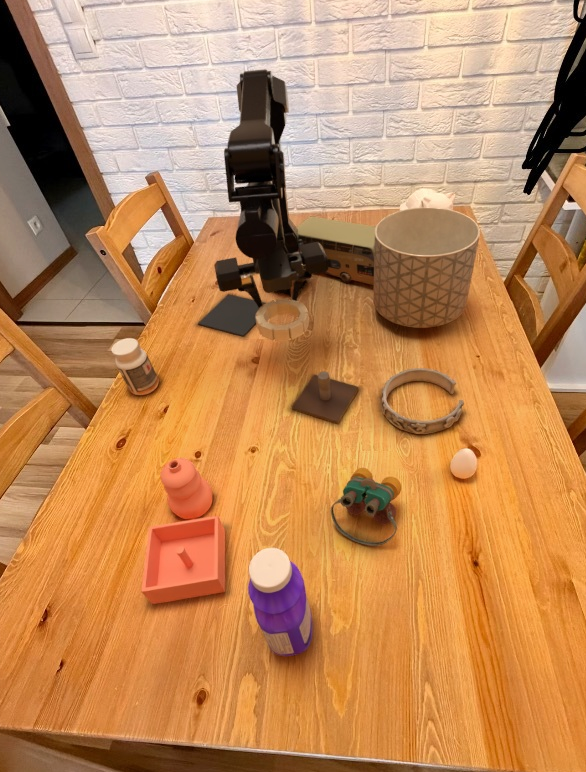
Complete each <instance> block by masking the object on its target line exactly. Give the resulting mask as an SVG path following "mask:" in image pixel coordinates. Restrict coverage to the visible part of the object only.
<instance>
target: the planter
mask: <svg viewBox="0 0 586 772" xmlns="http://www.w3.org/2000/svg"><path fill="white" fill-rule="evenodd" d="M375 227H376V228H375V239H374V285H373V305H374V308H375V309H376V311H377V313H378V314H379V315H381V316H382V318H384V319H386V320H387V321H389V322H391V323H393V324H396V325H399V326H402V327H403V326H404V327H409V328H417V329H418V328H419V329H426V328H434V327H441V326H443V325H446V324H449V323H451V322H453V321H455V320H456V319H458V318H459V317H460V316H462V314H463V313H464V312H465V310H466V308H467V303H468V299H469V293H470V287H471V283H472V279H473V278H472V277H473V273H474V267H475V261H476V257H477V253H478V252H477V251H478V247H479V246H478V245H479V241H480V236H481V229H480V226H479V224H478V223H477V222H476V221H475V220H474V219H473V218H472V217H470V216H468V215H466V214H465V213H462V212H460V211H457V210H454V209H453V210H450V209H444V208H436V207H419V208H410V209H405V210H401V211H400V210H397V211H394V212H392V213H390V214H388V215H386V216H384V217H383V218H382V219H381V220H380V221H379V222H378V223H377V224H376V226H375Z"/></svg>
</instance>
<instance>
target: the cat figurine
mask: <svg viewBox="0 0 586 772" xmlns="http://www.w3.org/2000/svg"><path fill="white" fill-rule="evenodd" d="M455 199H456V193H455V192H454V191H452V192H448V193H445V194H444V193H442V192H437V191H436V190H434V189H431V188H426V187H425V188H419V189H417V190H415V191H413V193H411V194H410V196H408V197H407V199H406V201H403V202H402V204H400V205H399V211H401V210H405V209H410V208H419V207H436V208H444V209H450V210H454V204H455V203H454V202H455Z"/></svg>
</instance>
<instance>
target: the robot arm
mask: <svg viewBox="0 0 586 772" xmlns="http://www.w3.org/2000/svg"><path fill="white" fill-rule="evenodd" d="M236 94H237V104H238V111H239V112H240V115H239V123H238V126H236V127H235V128H234V129H232V130H231V131H230V132H229V135H228V140H227V147H225V148H224V151H223V157H224V169H225V177H226V178H225V179H226V188H227V199H228V203H239V205H240V215H239V218H238V222H237V227H236V232H235V243H236V246H237V248H238V249H239V251H240V253H242V254H243V255H244V256H246V257H247V258H250V259H252V262H248V263H243V264H238V259H237V257H230V258H226V259H220V260H216V261H215V262H214V265H213V267H214V272H215V279H216V282H217V286H218V289H219V291H220V292H222V293H224V292H229V291H234V290H237V291H238V292H245V293H247V294H248V295H249V296H250V297H251V299H252V300H254V301H255V303H256V304H257V306H258V307H259V308H260V307H262V302H263V301H262V299H261V295H260V293H259V289H258V287H257V284H256V281H255V278H254V276H256V275H257V276H258V275H259V278H260V283H261V286H262V290H263V292H265V293H267V294H271V293H277V294H282V295H286V296H289V297H291V299H292V300H295V301H298V298H299V294H300V292H301V291H302V289H303V288H304V287H305V286H306V285H307V284H308V279H311V278H312V275H316V274H323V273H322V272H326V271H327V270H328V259H327V255H326V253H325V251H324V249H323V247H322V245H321V244H320V243H318V242H315V243H309V244H304V245H303V243H302V239H301V240H299V235H298V229H297V228H296V227H297V226H296V224H295V223H294V222H293V221H292V219H291V218H290V213H289V204H288V203H289V202H288V195H287V181H286V180H287V179H286V164H285V154H284V152H283V149H282V140H281V138H282V135H283V134H284V130H285V128H286V124H287V114H288V113H290V105H289V103H290V102H289V96H288V95H289V94H288V89H287V85H286V81H285V80H283V79H281V78H279V77H276V76H274V75H273V72H272V71H271V70H268V69H266V68H265V69H253V70H245V71H243V72H241V73H240V74H239V82H238V83H237V84H236ZM235 184H237V185H241V184H242V185H243V184H246V186H235Z"/></svg>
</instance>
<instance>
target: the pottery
mask: <svg viewBox="0 0 586 772" xmlns="http://www.w3.org/2000/svg"><path fill="white" fill-rule="evenodd" d="M160 481H161V483H162V485H163V487H164V491H165V493H166V494H167V496H166V497H167V498H166V499H167V504H168V505H167V506H168V508H169V509H170V511H171V512H172V513H173V514H175V515H176V516H177V517H179V518H181V519H182V521H175V522H170V523H163V524H158V525H150V526H148V533H147V541H146V549H145V557H144V567H143V574H142V583H141V594H142V595H144V596H145V597H146V599H147V600H148V601H149V602H150V603H151V604H152V605H156V604H163V603H169V602H175V601H181V600H186V599H192V598H198V597H204V596H209V595H215V594H221V593H225V592H226V529H225V528H224V526H223V525H224V524H223V523H222V521H221V518H220V517H219V515H213V516H207V517H202V516H204V515H205V514H206V513H207V512H208V511H209V510H210V508H211V506H212V504H213V489H212V487H211V484H210V483H209V482H208V481H207V480H206V479H205V478H203V477H202V476H201V472H200V471H199V470H197V468H196V465H195V464H194V463H193V462H192V461H191V460H190V459H189V458H185V457H177V458H174V459H173V458H172V459H171V460H169V461H168V462H167V463H166V464H164V465H163V467H162V468H161V471H160Z"/></svg>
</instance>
